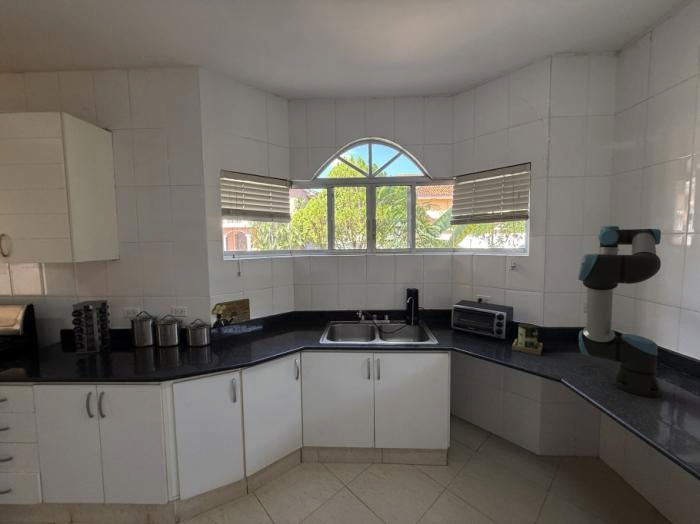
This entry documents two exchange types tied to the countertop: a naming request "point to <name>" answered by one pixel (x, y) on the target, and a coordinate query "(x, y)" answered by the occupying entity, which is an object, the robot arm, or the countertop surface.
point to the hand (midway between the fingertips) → (605, 294)
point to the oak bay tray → (527, 350)
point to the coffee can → (527, 335)
